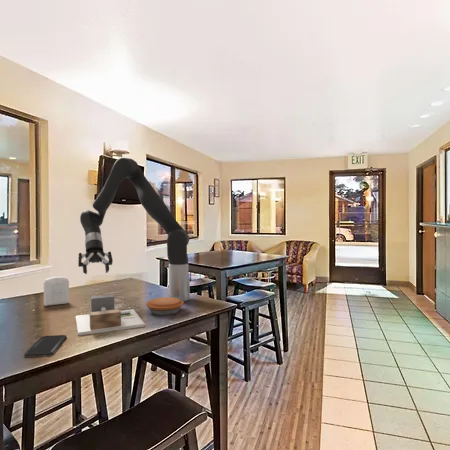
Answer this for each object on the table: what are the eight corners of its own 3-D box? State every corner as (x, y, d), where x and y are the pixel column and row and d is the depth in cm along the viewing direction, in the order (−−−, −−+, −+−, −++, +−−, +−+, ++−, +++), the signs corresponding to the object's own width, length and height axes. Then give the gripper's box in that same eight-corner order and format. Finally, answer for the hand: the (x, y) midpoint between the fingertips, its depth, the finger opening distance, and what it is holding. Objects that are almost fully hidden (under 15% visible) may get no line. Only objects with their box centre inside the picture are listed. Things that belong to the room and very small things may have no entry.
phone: (67, 334, 112) (52, 352, 98) (67, 338, 113) (52, 356, 98) (41, 336, 111) (22, 354, 96) (41, 339, 111) (22, 358, 96)
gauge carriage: (129, 313, 134) (129, 293, 134) (132, 318, 128) (132, 297, 127) (91, 318, 128) (90, 296, 128) (92, 323, 122) (92, 301, 121)
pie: (167, 319, 132) (167, 306, 132) (137, 313, 140) (137, 301, 140) (190, 309, 146) (190, 298, 146) (162, 304, 153) (162, 293, 153)
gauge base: (133, 311, 142) (133, 308, 142) (144, 326, 123) (144, 322, 123) (75, 318, 133) (75, 314, 133) (78, 335, 114) (77, 331, 114)
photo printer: (68, 301, 159) (67, 274, 158) (69, 303, 155) (69, 276, 155) (43, 304, 153) (42, 277, 153) (44, 306, 149) (43, 278, 149)
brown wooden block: (119, 322, 124) (119, 309, 124) (120, 325, 121) (120, 311, 120) (89, 326, 120) (89, 312, 120) (90, 330, 116) (90, 315, 116)
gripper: (77, 239, 153) (79, 268, 144) (110, 238, 160) (114, 266, 150) (77, 249, 158) (78, 278, 148) (109, 248, 165) (112, 276, 155)
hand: (96, 272), depth 149 cm, fingers open, 8 cm apart
